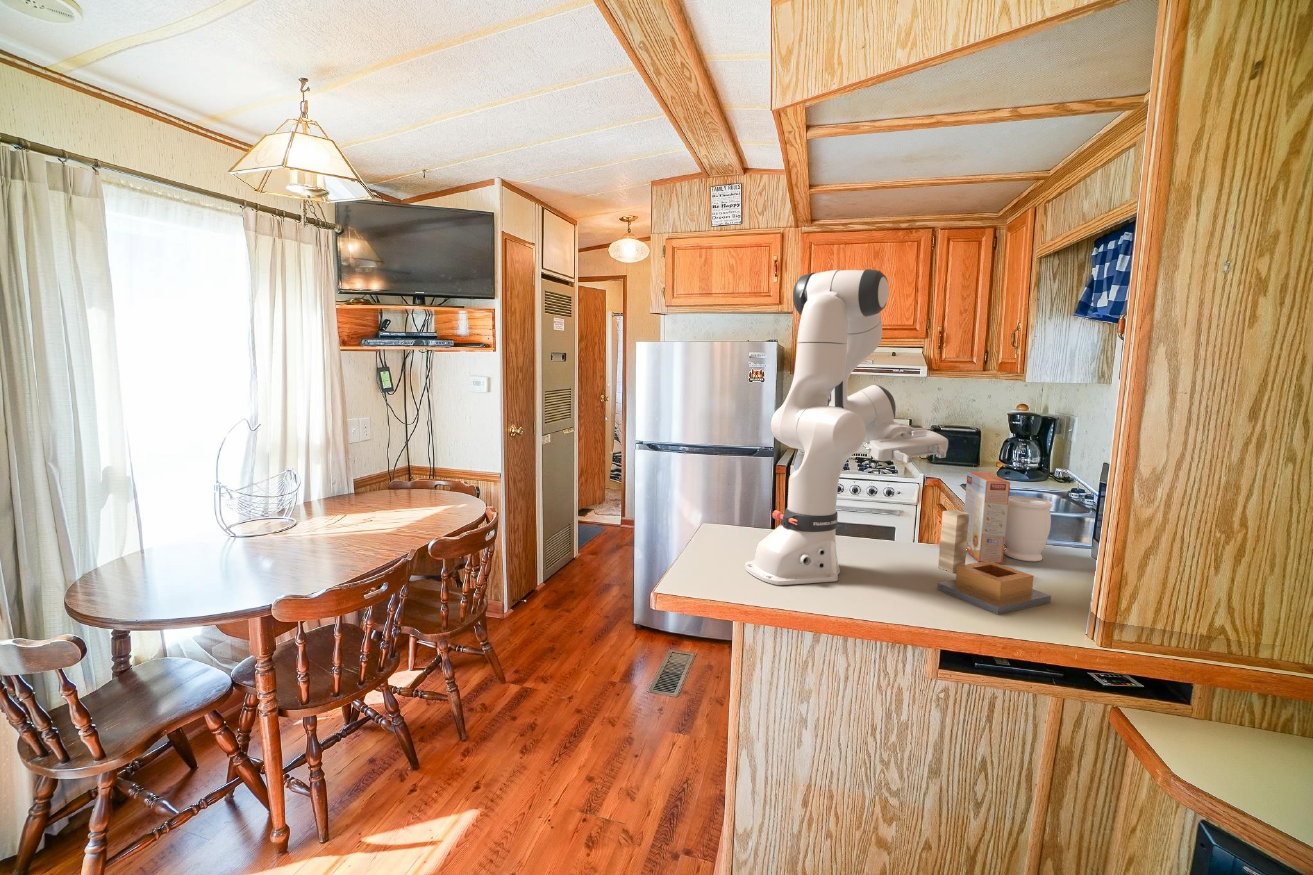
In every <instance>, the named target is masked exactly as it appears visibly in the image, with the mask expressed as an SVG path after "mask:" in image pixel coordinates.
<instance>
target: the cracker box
mask: <svg viewBox="0 0 1313 875" xmlns="http://www.w3.org/2000/svg"><path fill="white" fill-rule="evenodd" d="M1010 489H1011V481H1009V480H1006V479H1004V478H1002V477H999V476H998V475H996V474H993V473H991V472H987V471H967V474H966V484H965V496H964V497H965V498H964V507H963V508H964V509H963V512H965V513H969V523H968V535H967V547H966V549H967V550H966V553H968V554H969V555H971V556H972V557H973V558H974V559H975V560H976V561H977V562H984V561H992V562H995V563H998V564H1000V565H1003V560H1004V551H1005V532H1006V522H1007V512H1008V502H1009V496H1010V491H1011V490H1010Z"/></svg>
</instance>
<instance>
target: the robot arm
mask: <svg viewBox="0 0 1313 875" xmlns="http://www.w3.org/2000/svg"><path fill="white" fill-rule="evenodd" d="M889 293H890V288H889V282H888V278H887V276H886V275H885V274H884V273H883V272H882V271H881V270H878V269H873V268H872V269H871V268H866V269H865V270H861V269H834V270H826V271H820V272H809V273H806V274H803V275H801V276H800V277H799V278H798V279H797V280H796V282H795V285H794V286H793V291H792V301H793V305H794V308H795V310H796V311H797V313H798V314H799V315H800V316H801V317H800V320H799V325H798V329H797V330H798V331H797V338H796V339H797V340H796V351H795V363H794V373H793V378H792V383H791V386H790V388H789V390H788V391H789V392H788V394H787V396H786V398H785V400H784V401H783V403H782V405H781V406H780V407H778V408H777V409H776V410H775V411H774V413H773V415H772V417H771V421H770V430H771V433H772V435H773V437H774V438H775V440H777V441H778V442H780V443H782V444H784V445H785V446H787V447H789V448H791V449H797V450H801V451H804V455H803V458H802V461H801V464H800V466H799V467H798V469H795V470H794V471H793V472H792V473H791V474H790V475H789V477H788V490H787V491H788V492H787V494H788V495H787V507H786V508H785V510H784V512H782V511H779V510H774V511H773V512H772V518H773V519H774V520H777V521H780V524H779V525H778V526H777V527H776V528H774V530H773V531H771V532H770V533H769V534H767V535H766V536H765V537H764V538H763V539H761V540H760V541H759V542H758V544H757V545H756V549H755V554H754V559H752V560H748V561H745V564H744V570H746V571H747V573H749V574H751V576H754V577H755V578H757V579H759V580H760V581H763V582H766V583H768V584H771V585H776V586H786V585H802V584H804V585H805V584H812V583H813V584H814V583H815V584H817V583H829V582H838V581H839V580H838V578H839V576H838V575H839V574H840V573H841V570H840V566H839V564H840V563H839V558H838V554H837V552H838V551H837V542H836V529H837V528H838V523H839V521H838V517H839V516H838V512H837V501H838V499H837V498H838V489H839V488H838V486H839V481H840V476H841V473H842V471H843V469H844V467H845V464H846V463H847V461H848V460H849V459H850V457H852V456H853V455H854V454H856V453H857V452H858V451H859V450H860V449H861V447H863V449H864V450H867V451H868V453H869V455H870V456H871V457H873V459H875V460H876V461H880V462H888V461H895V460H896V461H900V462H903V463H905V464H908V463H913V458H916V457H917V458H918V457H924V456H932V455H935V457H936V458H938V459H943V458H947V451H948V449H949V439H948V438H946V437H945V436H943V435H941V434H939V433H937V432H935V431H932V430H928V428H927V426H924V425H918V424H917V425H915V424H914V425H913V424H910V425H909V424H905V423H898V422H896V421H895V419H896V409H897V406H896V400H895V398H894V396H893V395H892V393H891V391H890V390H887V389H886V388H885V387H883V386H882V385H878V384H875V383H874V384H872V385H869V386H866V387H865V388H863V389H859V390H858V391H856V392H855V393H852V394H850V395H848V393H849V392H848V391H849V390H848V387H849V386H848V385H849V384H848V383H849V378H850V376H851V374H852V372H853V371H854V370H855V369H856V368H857V367H858V366H859V365H861V363H862V362H864V360H865V359H867V358H868V357H869V356H871V355H872V354H873V353H874V352H875V351H876V350H877V349H878V347H879V346H880V343H881V342H882V337H883V324H882V323H883V322H882V317H881V311H883V310H884V309H885V308H886V306H887V303H888V298H889V295H890V294H889ZM864 442H865V443H864Z"/></svg>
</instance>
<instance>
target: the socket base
mask: <svg viewBox="0 0 1313 875" xmlns="http://www.w3.org/2000/svg"><path fill="white" fill-rule="evenodd" d="M955 574H956V577H955V578H954V579H950V580H946V581H940V582H937V587H936V588H937V589H936V590H938V591H941V592H943V593H946V594H948V595H950V596H952V597H954V598H957V599H959V600H962V601H964V602H966V603H969V604H971V605H973V606H975V607H978V608H981V609H983V610H986V611H988V612H990V613H992V614H995V615H1003V614H1006V613H1011V612H1016V611H1020V610H1024V609H1029V608H1033V606H1034V607H1038V606H1041V604H1042V605H1047V604H1050V603H1051V599H1052V595H1051V594H1047V593H1044V592H1042V591H1038V590H1036V589H1033V588H1034V587H1033V585H1034V578H1035V577H1034V575H1033V574H1030V573H1027V572H1023V571H1021V570H1018V569H1015V568H1011V567H1009V566H1006V565H1003V564H1001V563H995V562H992V561H984V562H979V561H977V562H974V563H968V564H966V563H965V565H961V566H957V572H956V573H955ZM1046 603H1047V604H1046Z"/></svg>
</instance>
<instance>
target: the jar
mask: <svg viewBox="0 0 1313 875" xmlns="http://www.w3.org/2000/svg"><path fill="white" fill-rule="evenodd" d="M1051 508H1053V502H1052V501H1050V500H1046V499H1043V498H1039V497H1032V496H1026V495H1025V496H1023V495H1009V502H1008V512H1007V522H1006V532H1005V542H1004V546H1006V549H1004V552H1003V554H1005V556H1007V557H1009V558H1011V559H1015V560H1019V561H1025V562H1040V561H1042V560H1043V556H1042V554H1041V553H1042V552H1043V551H1044V549H1045V547H1046V544H1047V542H1048V538H1049V535H1050V532H1051V525H1052V524H1051V523H1052V515H1051V510H1050V509H1051Z"/></svg>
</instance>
